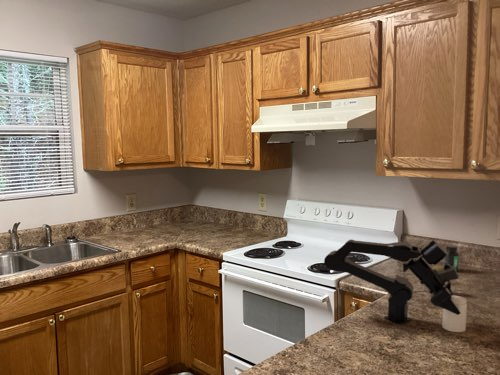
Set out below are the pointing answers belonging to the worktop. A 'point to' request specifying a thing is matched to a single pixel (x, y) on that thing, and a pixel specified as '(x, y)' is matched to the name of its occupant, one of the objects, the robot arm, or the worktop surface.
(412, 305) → the worktop surface
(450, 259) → the supplement bottle
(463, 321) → the tumbler
